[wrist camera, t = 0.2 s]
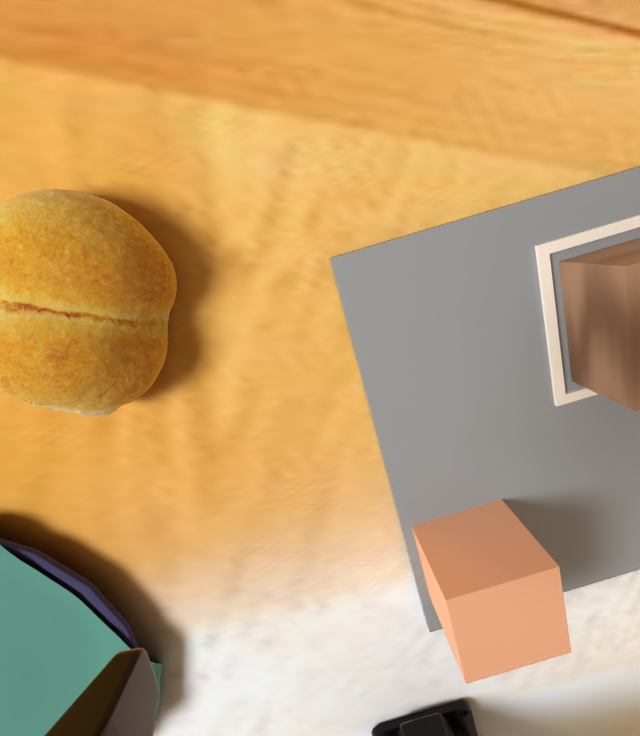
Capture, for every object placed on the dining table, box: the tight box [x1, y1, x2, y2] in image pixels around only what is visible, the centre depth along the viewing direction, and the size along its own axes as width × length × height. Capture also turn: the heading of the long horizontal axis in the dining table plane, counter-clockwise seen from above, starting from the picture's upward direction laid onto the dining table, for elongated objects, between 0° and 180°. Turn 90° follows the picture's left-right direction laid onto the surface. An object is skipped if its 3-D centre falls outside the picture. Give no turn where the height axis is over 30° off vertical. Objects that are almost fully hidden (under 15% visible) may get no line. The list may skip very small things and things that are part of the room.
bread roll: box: [0, 189, 177, 415], centre depth 17 cm, size 8×9×4 cm
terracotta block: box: [412, 499, 571, 684], centre depth 21 cm, size 5×5×5 cm
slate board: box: [329, 166, 640, 632], centre depth 22 cm, size 22×18×1 cm
